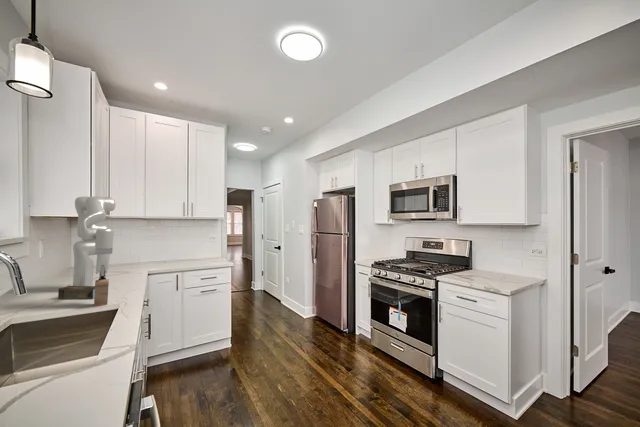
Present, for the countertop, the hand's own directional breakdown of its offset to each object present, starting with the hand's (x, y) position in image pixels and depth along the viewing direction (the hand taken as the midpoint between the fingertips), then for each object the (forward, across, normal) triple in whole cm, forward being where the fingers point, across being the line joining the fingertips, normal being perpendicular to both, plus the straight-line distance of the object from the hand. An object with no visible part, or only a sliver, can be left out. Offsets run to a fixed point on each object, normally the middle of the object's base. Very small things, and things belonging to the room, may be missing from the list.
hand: (101, 286), depth 150 cm
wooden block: (+8, +1, 0) cm, 9 cm away
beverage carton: (+10, -22, -10) cm, 26 cm away
